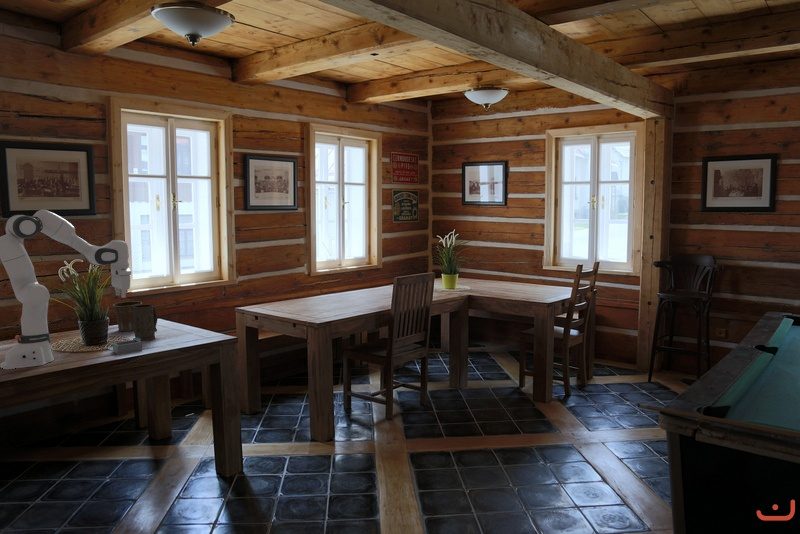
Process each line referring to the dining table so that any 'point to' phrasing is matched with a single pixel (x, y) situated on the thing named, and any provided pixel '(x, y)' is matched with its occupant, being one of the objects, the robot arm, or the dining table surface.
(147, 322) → the beer stein
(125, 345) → the tub
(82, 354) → the dining table surface
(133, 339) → the lid
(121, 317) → the plant pot
